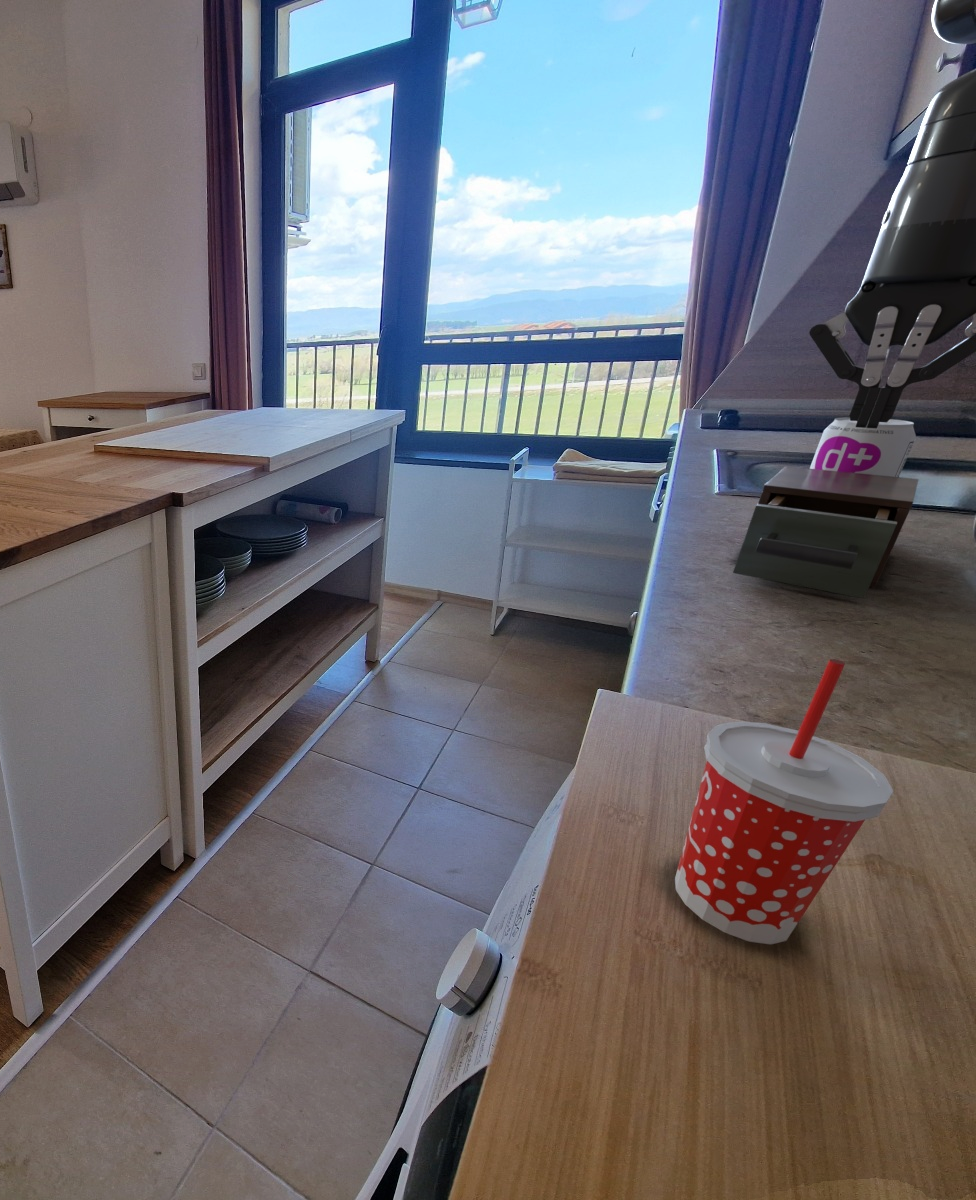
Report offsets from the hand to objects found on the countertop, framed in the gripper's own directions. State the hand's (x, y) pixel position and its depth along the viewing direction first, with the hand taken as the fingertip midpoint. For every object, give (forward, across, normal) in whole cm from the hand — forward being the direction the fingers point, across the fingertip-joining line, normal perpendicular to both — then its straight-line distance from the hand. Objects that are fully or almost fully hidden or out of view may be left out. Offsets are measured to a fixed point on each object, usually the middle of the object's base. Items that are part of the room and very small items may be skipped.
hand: (866, 426), depth 60 cm
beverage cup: (+17, -3, +55) cm, 58 cm away
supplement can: (+18, 0, -28) cm, 33 cm away
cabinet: (+18, +1, -14) cm, 22 cm away
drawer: (+17, +1, -3) cm, 17 cm away
